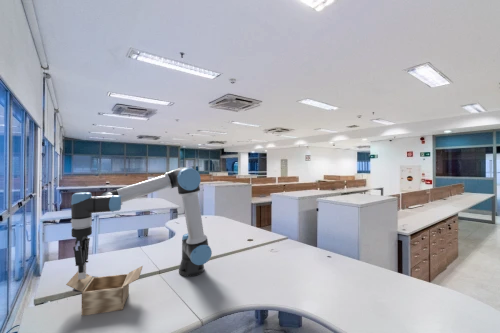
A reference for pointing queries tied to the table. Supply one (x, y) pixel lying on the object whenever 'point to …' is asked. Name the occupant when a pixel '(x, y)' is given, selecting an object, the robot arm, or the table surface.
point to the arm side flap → (133, 276)
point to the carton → (105, 294)
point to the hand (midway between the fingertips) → (82, 278)
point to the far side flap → (79, 282)
